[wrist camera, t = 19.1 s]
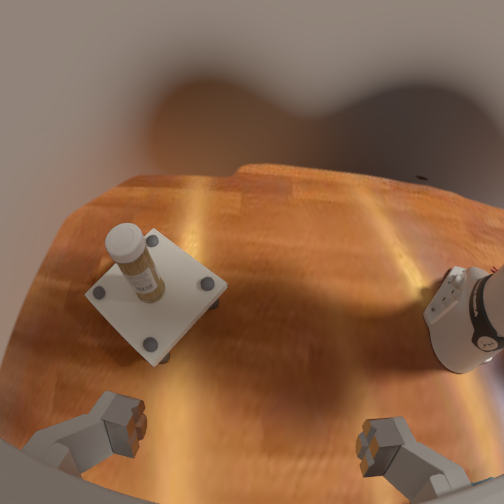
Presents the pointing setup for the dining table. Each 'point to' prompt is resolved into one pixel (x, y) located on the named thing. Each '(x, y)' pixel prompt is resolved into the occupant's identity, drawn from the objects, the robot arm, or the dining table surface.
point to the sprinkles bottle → (135, 261)
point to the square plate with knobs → (164, 310)
